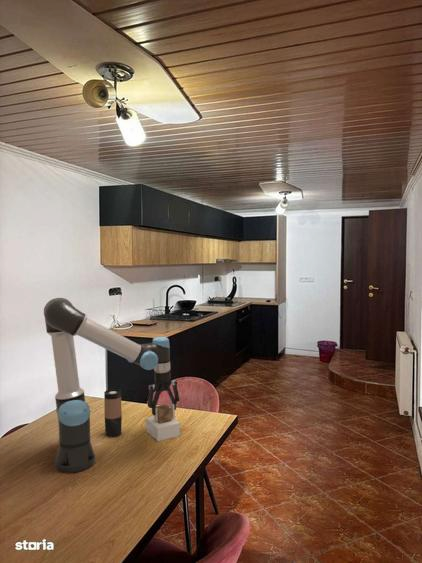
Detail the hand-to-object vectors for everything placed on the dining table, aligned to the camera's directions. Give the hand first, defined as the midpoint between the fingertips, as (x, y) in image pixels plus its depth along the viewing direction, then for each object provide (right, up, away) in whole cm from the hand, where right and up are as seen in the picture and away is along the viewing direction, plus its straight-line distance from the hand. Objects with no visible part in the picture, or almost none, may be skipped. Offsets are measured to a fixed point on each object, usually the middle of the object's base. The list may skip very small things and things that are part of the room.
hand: (164, 419), depth 186 cm
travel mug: (-23, -7, -1) cm, 25 cm away
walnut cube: (-1, 0, 0) cm, 1 cm away
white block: (-1, -6, 0) cm, 6 cm away
